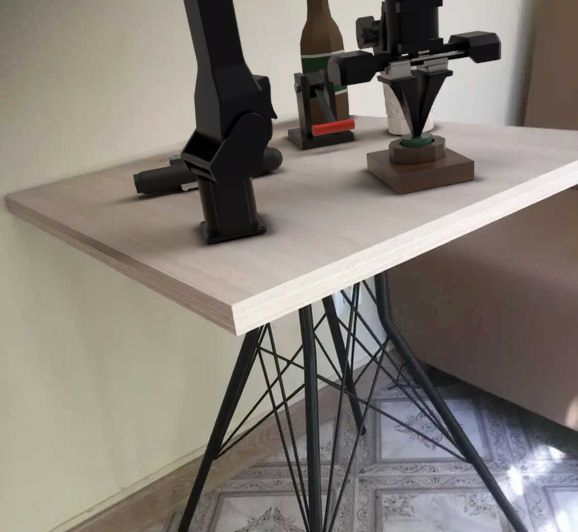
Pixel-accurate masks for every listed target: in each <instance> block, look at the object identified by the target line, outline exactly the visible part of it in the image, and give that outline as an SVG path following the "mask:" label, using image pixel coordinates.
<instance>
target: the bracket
mask: <svg viewBox="0 0 578 532" xmlns="http://www.w3.org/2000/svg"><path fill="white" fill-rule="evenodd" d="M319 71H320V74H321V77H322V79H323V81H324V96H325V98H326V101H327V103H328V105H329V107H330V109H331V112H332V114H333V116H334V118H335V121H338V119H337V108H336V97H335V83H333V82H331V81H329V77H328V69H326V68H323V69H319ZM293 79H294V84H293V89H294V93H295V96H296V104H297V114H298V121H299V127H296V128H291V129H287V137H288V139H290V140H291V141H292V142H293V143H294V144H295V145H297V147H299V148H300V149H301V150H303V151H304V150H309V149H314V148H320V147H326V146H330V145H336V144H343V143H348V142H353V141H355V136H354V134H355V133H354V132H353V131H352V130H346V131H340V132H335V133H329V134H324V135H318V136H313V133H312V126H314V125H315V124H312V118H311V109H310V100H309V91H308V82H307V75H304V74H303V73H302V72H294V73H293ZM324 121H325V119H324ZM325 123H326V121H325ZM325 123H323V124H325ZM317 125H320V124H317Z"/></svg>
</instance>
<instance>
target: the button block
mask: <svg viewBox="0 0 578 532" xmlns="http://www.w3.org/2000/svg"><path fill="white" fill-rule="evenodd" d="M365 156H366V166H367V167H366V168H367V171H368V172H369V173H371V174H372V175H374V176H375V177H377V178H378V180H381V181H382V182H383V183H385V184H386V185H387V186H389V187H390V188H391V189H394V191H396V192H397V193H399V194H400V195H403V194H408V193H413V192H417V191H418V192H419V191H423V190H428V189H433V188H439V187H443V186H448V185H449V186H450V185H454V184H460V183H465V182H470V181H474V180H475V160H473V159H471V158H469V157H467V156H465V155H464V154H461V153H459V152H457V151H455V150H453V149H450V148H449V147H446V138H445V137H443V136H441V135H439V134H438V135H437V134H432V143H430V144H427V145H421V146H402V142H401V137H399V138H396V139H394V140H391V141H390V143H389V144H388V148H387V149H382V150H381V149H380V150H377V151H371V152H366V155H365Z"/></svg>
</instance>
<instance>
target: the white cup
mask: <svg viewBox="0 0 578 532" xmlns="http://www.w3.org/2000/svg"><path fill="white" fill-rule="evenodd" d="M413 69H417V66H412V67H411V70H413ZM411 76H412V75H411ZM382 91H383V98H384V107H385V113H386V118H387V126H388V127H387V128H388V133H389V134H391V135H395V136H396V135H398V136H403V135H406V134H409V133H411V132H410V130H409V127H408V125H407V122H406V119H405V117H404V114H403V112H402V109H401V107H400V104H399V102H398V100H397V98H396V96H395V94H394V92H393V91H392V89H391V88H390V86H389V85H388V84H385V83H382ZM435 102H436V100H435V101H434V103H433V105H432V107H431V111H430V113H429V116H428V118H427V121H426V124H425V126H424V129H423V131H422V132H430V131H431V130H433V129H434V127H435V126H434V125H435V124H434V121H435V120H434V116H435V115H434V114H435V111H434V110H435V106H436V104H435Z"/></svg>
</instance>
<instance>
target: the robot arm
mask: <svg viewBox="0 0 578 532" xmlns="http://www.w3.org/2000/svg"><path fill="white" fill-rule="evenodd" d="M182 1H183V5H184V9H185V14H186V20H187V23H188V29H189V32H190V33H189V34H190V37H191V42H192V46H193V51H194V56H195V59H196V60H195V61H196V66H197V68H196V70H197V71H196V79H195V87H194V94H193V102H194V103H193V104H194V115H195V116H194V119H195V129H194V130H193V131H192V134H191V135H190V137H189V139H188V140H187V141H186V144H185V145H184V146H183V149H182V150H181V152H180V153H179V154H180V157H181V159H182V161H183V162H184V164H185V166H186V168H187V169H188V171H190V172H194V173H196V174H198V175H197V177H196V178H197V183H198V187H197V188H198V193H199V199H200V204H201V208H202V214H203V219H204V220H202V221H200V223H199V224H200V228H201V230H202V233H203V237H204V240H205V242H206V243H207V244H212V243H213V244H214V243H218V242H223V241H227V240H233V239H239V238H242V237H248V236H253V235H257V234H258V235H259V234H263V233H266V232H268V228H267V225H266V223H265V222H264V220H263V219H262V217H261V216H260V213H259V212H258V208H257V202H256V195H255V189H254V183H253V182H254V181H253V177H258V176H260V175H261V173H262V172H261V168H262V162H263V156H264V150H265V148H266V147H267V146H268V145H269V143H270V141H272V139H273V135H274V125H273V124H274V123H273V120H278V118H279V116H278V115H277V113H276V111H275V109H274V106H273V103H272V87H271V86H272V85H271V81H270V78H269V76H268V75H261V74H254V73H252V71H251V69H250V67H249V65H248V64H247V61H246V59H245V56H244V52H243V47H242V40H241V36H240V30H239V25H238V19H237V14H236V9H235V3H234V0H182ZM440 7H444V0H383V1H382V0H381V6H380V19H376V20H375V17H374V15H368V16H367V15H366V16H361V17H358V18H356V20H355V39H356V45H357V48H358V50H351V51H346V52H345V53H339V54H333V55H331V57H330V59H329V60H328V65H327V67H328V77H329V81H331V82H333V83H335V84H338V85H340V86H347V87H349V86H354V85H361V84H366V83H370V82H371V81H372V80H373V78H374V77H375V76H376V79H377V81H378V82H379V83H382V84H383V83H385V84H388V85H389V86H390V88H391V89H392V91H393V92H394V94H395V96H396V98H397V100H398V102H399V104H400V107H401V109H402V112H403V114H404V117H405V119H406V122H407V125H408V127H409V130H410V132H411V135H412V136H414V137H416V136H421V134H422V131H423V129H424V126H425V124H426V121H427V118H428V116H429V113H430V111H431V107H432V105H433V103H434V101H435V102H436V98H437V96H438V94H439V93H440V91H441V89H442V87H443V85H444V82H445V81H446V79H447V78H449V77H453V76H454V70H452V69H449V61H454V60H460V59H465V58H469V59H470V60H471V61H472V62H473V63H474V64H477V65H478V64H483V63H489V62H494V61H495V62H496V61H499V60H502V41H501V39H500V37H499V35H498V34H497V33H496V32H493V31H484V30H483V31H481V30H474V31H473V30H472V31H469V32H468V31H467V32H462V33H461V32H460V33H455V34H450V36H449V38H448V41H447V42H446V43H445V42H444V41H445V40H444V39H445V38H444V37H441V36H440V22H439V21H440V20H439V19H440V18H439V17H440V16H439V8H440ZM365 49H372V52H370V51H366V50H365ZM412 66H417V69H413V70H411V67H412ZM377 73H379V74H378V75H377ZM411 75H412V76H411Z"/></svg>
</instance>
